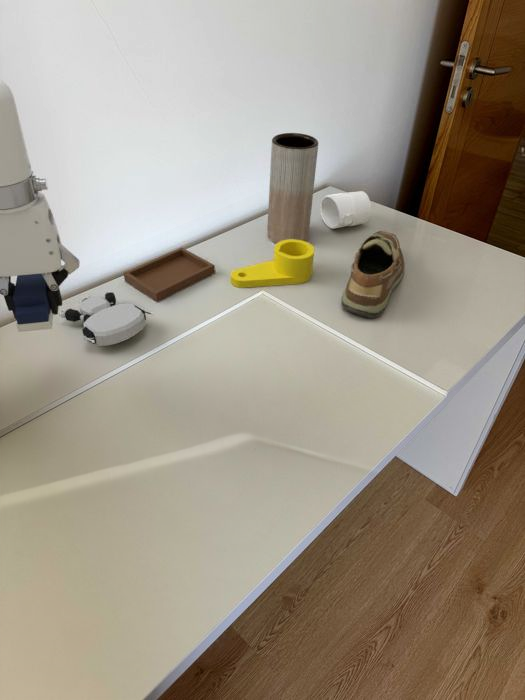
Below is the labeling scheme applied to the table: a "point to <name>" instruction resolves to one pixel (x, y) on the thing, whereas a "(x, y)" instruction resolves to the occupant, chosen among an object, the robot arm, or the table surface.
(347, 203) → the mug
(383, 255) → the boat shoe
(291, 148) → the planter
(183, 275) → the tray
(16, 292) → the navy stepped block
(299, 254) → the crank
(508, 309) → the table surface
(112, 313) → the robot toy
